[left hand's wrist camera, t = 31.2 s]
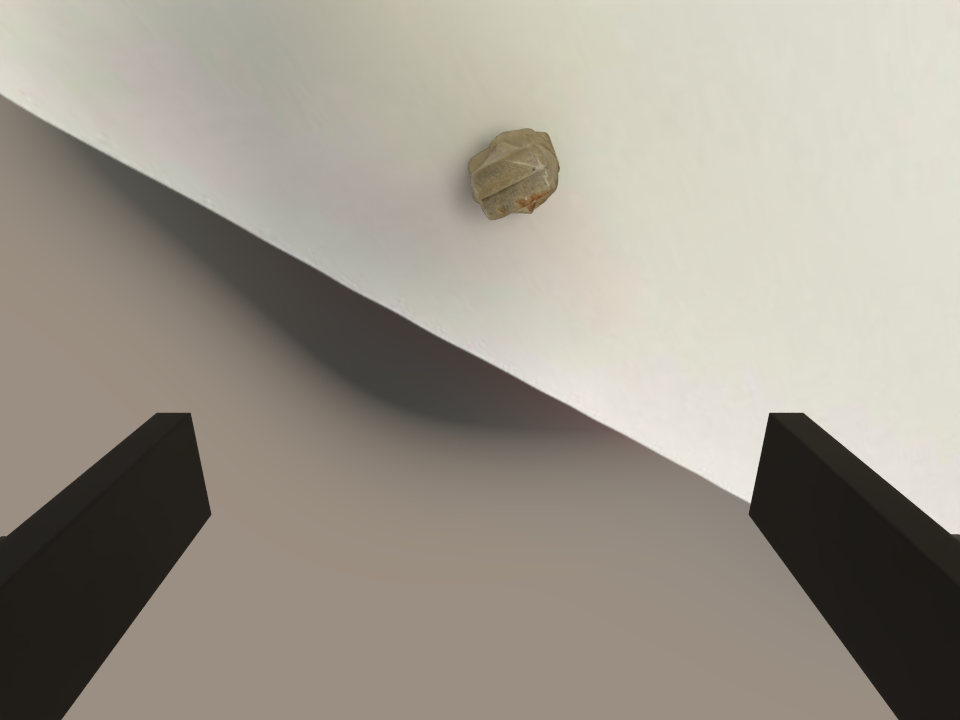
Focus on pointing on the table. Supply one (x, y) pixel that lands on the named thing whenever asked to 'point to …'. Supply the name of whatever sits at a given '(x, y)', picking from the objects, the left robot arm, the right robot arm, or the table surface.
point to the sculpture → (514, 173)
